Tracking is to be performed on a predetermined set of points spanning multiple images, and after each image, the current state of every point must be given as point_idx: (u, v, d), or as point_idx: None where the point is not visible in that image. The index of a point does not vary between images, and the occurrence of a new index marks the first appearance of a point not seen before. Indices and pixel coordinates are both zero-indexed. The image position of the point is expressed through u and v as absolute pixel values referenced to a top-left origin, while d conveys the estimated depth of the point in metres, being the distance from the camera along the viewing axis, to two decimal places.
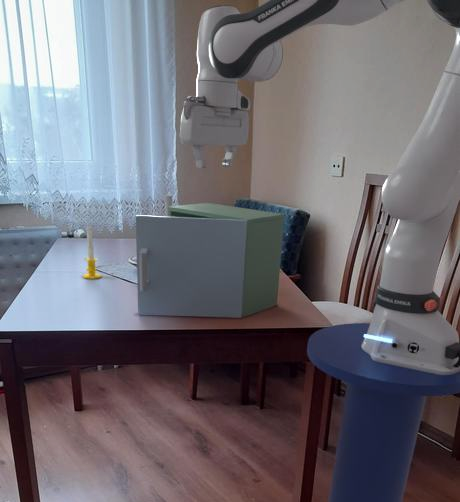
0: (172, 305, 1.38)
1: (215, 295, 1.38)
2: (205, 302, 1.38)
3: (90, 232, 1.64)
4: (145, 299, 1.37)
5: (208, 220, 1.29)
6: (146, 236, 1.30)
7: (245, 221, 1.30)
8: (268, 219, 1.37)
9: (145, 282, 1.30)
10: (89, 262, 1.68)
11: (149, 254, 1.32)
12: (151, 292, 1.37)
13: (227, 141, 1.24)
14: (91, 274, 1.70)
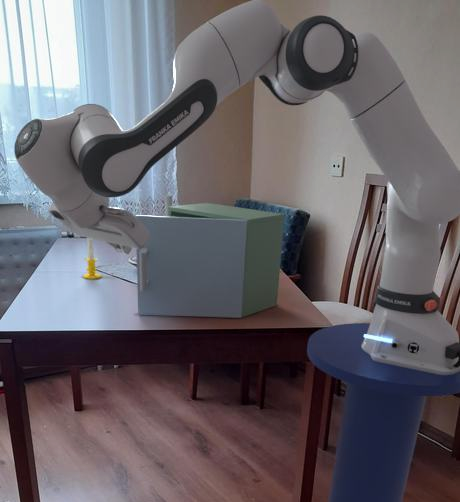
0: (172, 305, 1.38)
1: (215, 295, 1.38)
2: (205, 302, 1.38)
3: None
4: (145, 299, 1.37)
5: (208, 220, 1.29)
6: None
7: (245, 221, 1.30)
8: (268, 219, 1.37)
9: (145, 282, 1.30)
10: (89, 262, 1.68)
11: (149, 254, 1.32)
12: (151, 292, 1.37)
13: None
14: (91, 274, 1.70)
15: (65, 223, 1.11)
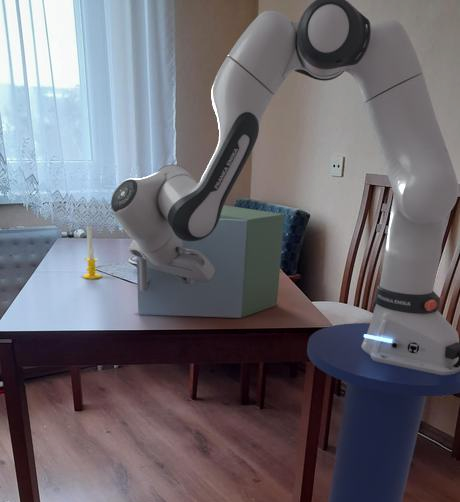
0: (172, 305, 1.38)
1: (215, 295, 1.38)
2: (205, 302, 1.38)
3: (90, 232, 1.64)
4: (145, 299, 1.37)
5: None
6: None
7: (245, 221, 1.30)
8: (268, 219, 1.37)
9: (145, 282, 1.30)
10: (89, 262, 1.68)
11: None
12: (152, 292, 1.37)
13: None
14: (91, 274, 1.70)
15: None
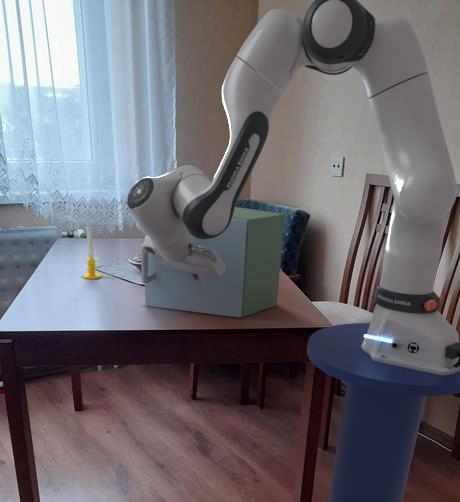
0: (176, 299, 1.43)
1: (215, 293, 1.39)
2: (206, 299, 1.41)
3: (90, 232, 1.64)
4: (151, 291, 1.44)
5: None
6: None
7: (245, 221, 1.30)
8: (268, 219, 1.37)
9: (145, 274, 1.37)
10: (89, 262, 1.68)
11: None
12: (157, 285, 1.43)
13: None
14: (91, 274, 1.70)
15: (152, 255, 1.34)
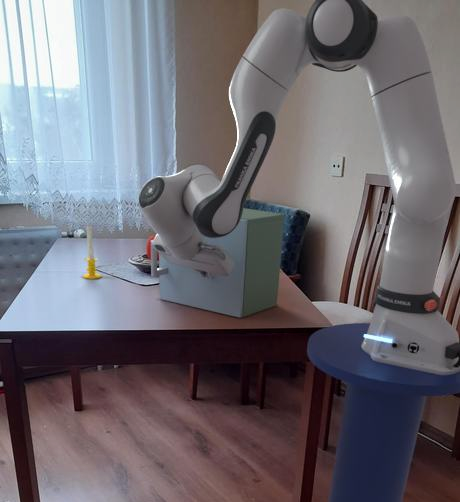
0: (184, 295, 1.47)
1: (218, 291, 1.41)
2: (210, 297, 1.43)
3: (90, 232, 1.64)
4: (164, 285, 1.50)
5: None
6: None
7: (244, 221, 1.30)
8: (268, 219, 1.37)
9: (154, 268, 1.43)
10: (89, 262, 1.68)
11: None
12: (169, 280, 1.48)
13: None
14: (91, 274, 1.70)
15: (162, 253, 1.36)
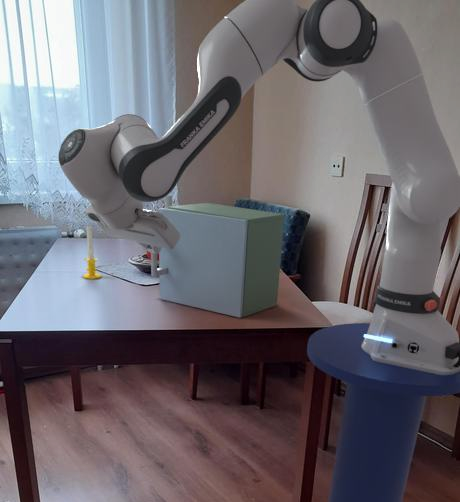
0: (184, 295, 1.47)
1: (218, 291, 1.41)
2: (210, 297, 1.43)
3: (90, 232, 1.64)
4: (164, 285, 1.50)
5: (213, 217, 1.34)
6: None
7: (244, 221, 1.30)
8: (268, 219, 1.37)
9: (154, 268, 1.43)
10: (89, 262, 1.68)
11: None
12: (169, 280, 1.48)
13: None
14: (91, 274, 1.70)
15: (99, 225, 1.18)
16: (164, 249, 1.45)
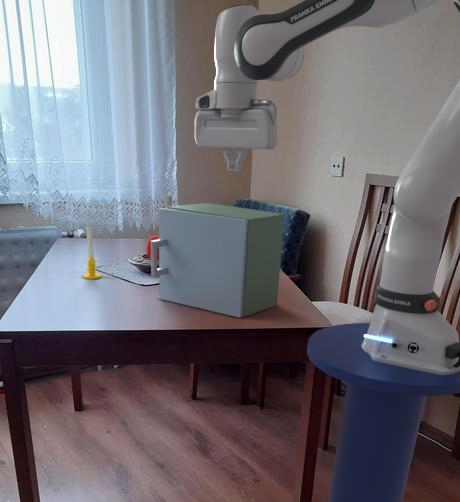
0: (184, 295, 1.47)
1: (218, 291, 1.41)
2: (210, 297, 1.43)
3: (90, 232, 1.64)
4: (164, 285, 1.50)
5: (213, 217, 1.34)
6: (166, 227, 1.43)
7: (244, 221, 1.30)
8: (268, 219, 1.37)
9: (154, 268, 1.43)
10: (89, 262, 1.68)
11: (168, 244, 1.44)
12: (169, 280, 1.48)
13: None
14: (91, 274, 1.70)
15: (198, 123, 1.22)
16: (164, 249, 1.45)
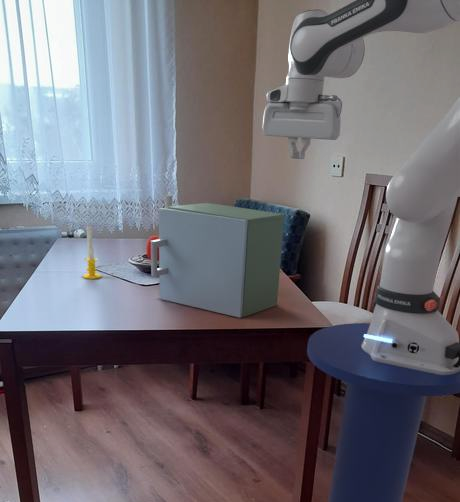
0: (184, 295, 1.47)
1: (218, 291, 1.41)
2: (210, 297, 1.43)
3: (90, 232, 1.64)
4: (164, 285, 1.50)
5: (213, 217, 1.34)
6: (166, 227, 1.43)
7: (244, 221, 1.30)
8: (268, 219, 1.37)
9: (154, 268, 1.43)
10: (89, 262, 1.68)
11: (168, 244, 1.44)
12: (169, 280, 1.48)
13: None
14: (91, 274, 1.70)
15: (267, 114, 1.36)
16: (164, 249, 1.45)
